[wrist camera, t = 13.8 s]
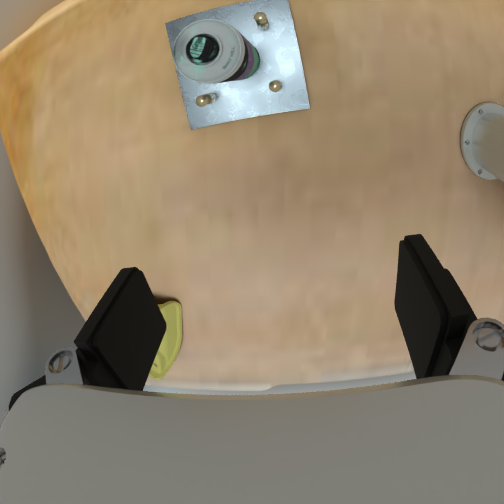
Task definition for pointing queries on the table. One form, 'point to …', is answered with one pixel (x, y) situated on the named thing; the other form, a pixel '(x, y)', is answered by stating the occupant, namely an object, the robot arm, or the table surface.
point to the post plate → (263, 80)
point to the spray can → (214, 53)
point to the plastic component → (168, 339)
